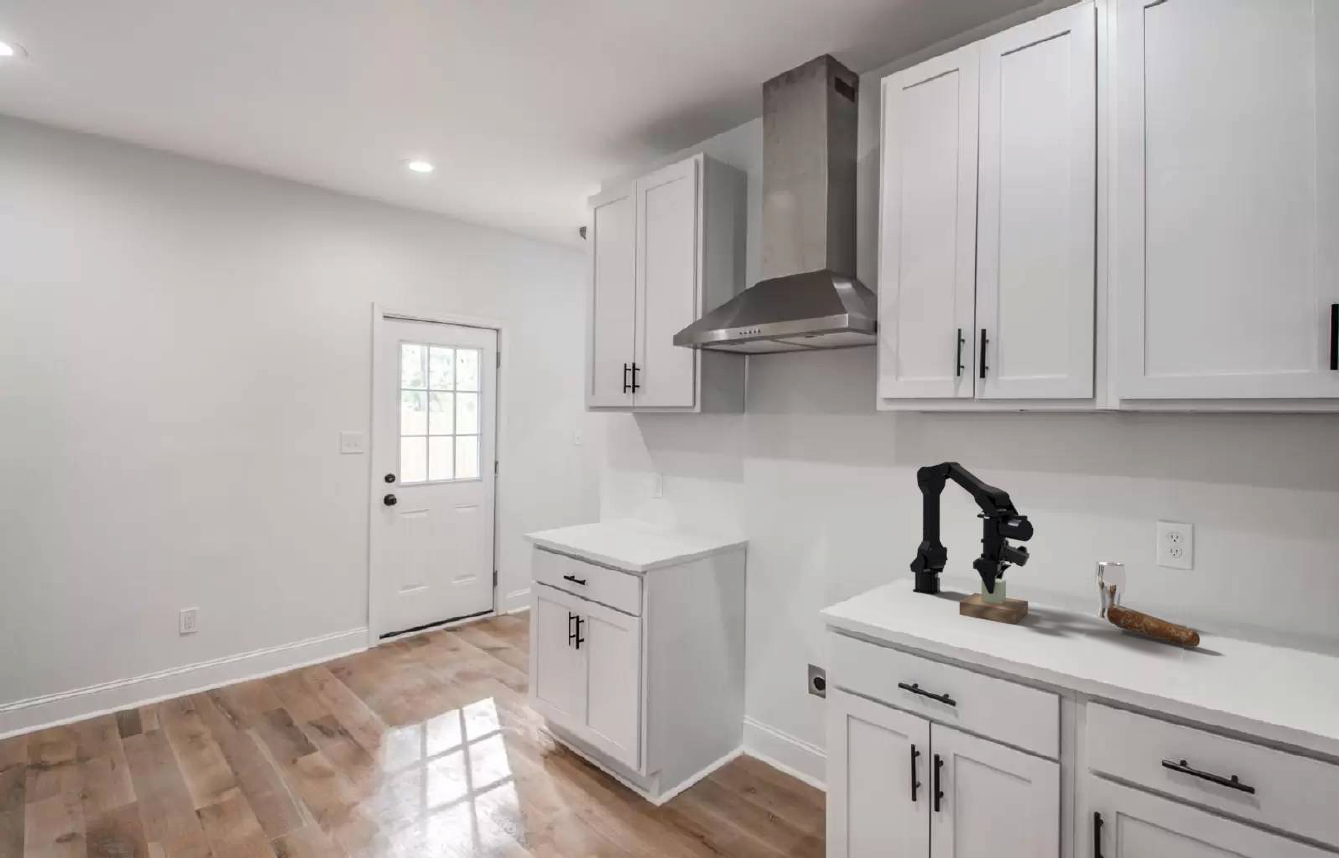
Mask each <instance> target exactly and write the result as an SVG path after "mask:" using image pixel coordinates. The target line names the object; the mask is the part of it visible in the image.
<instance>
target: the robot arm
mask: <svg viewBox="0 0 1339 858" xmlns="http://www.w3.org/2000/svg"><path fill="white" fill-rule="evenodd" d="M950 479H951V480H952V481H954V483H956V484H958V486H960V487H961V488H963V489H964V490H965V491H967V492H968V493H969V494H970V495H972V497H973V499H974V502H975V503H976V504H977V505H978V506H979V508H980V509H981V510H982V511H980V513H977V515H976V517H977V518H979V519H982V538H981V539H980V543H982V553H980V557H978V558H976V559H974V560H973V561H972V569H973V570H976V571H977V572H978V574H979V576H980V577H981V581H982V580H983V582H984V584H985V586H986V589H987V591H988V593H989V594H993V592H994V587H995V582H996V579H1003V577H1004V573H1005V571H1006V570H1008V569H1009V568H1010V567H1011V566H1012V565H1011V564H1015V565H1016V566H1019V567H1022V568H1023V567H1024V566H1026V564H1027V562H1028V560H1029V559H1030V553H1029V552H1028V548H1027V547H1026V546H1024V545H1019V546H1018V547H1016V546H1012V545H1010V541H1009V539H1010V540H1016V541H1020V542H1028V541H1029V540H1031V539H1032V538H1033V535H1034V531H1035V530H1034V527H1033V525H1032V523H1031V521H1029V520H1028V515H1022V514H1020V515H1019V513H1018V511H1017V509H1016V507H1015V505H1014V504H1013V502H1012V500H1011V498H1010V496H1011V495H1010V494H1009V493H1008V492H1007V491H1006V490H1003V489H1001V488H998V487H996V486H993V485H989V484H987V483H985V482H983V481H982V480H981V479H979V478H978V477H977V476H976V475H974V474H973V473H972V472H970V471H968V469H966V468H965V467H963V466H962V465H961V464H960V463H959V462H957V461H944V462H941V463H938V464H935V465H931V466H928V465H927V466H921V467H920V468H919V469H918V470H917V472H916V480H917V486H918V487H917V488H919V490H920V493H922V540H921V543H920V544H919V546H918V548H917V551H916V557H915V558H914V559H913V560H912V561H911V562H910V564H909V568H910V571H911V573H914V575H915V576H914V588H913V589H912V592H915V593H921V594H927V595H928V594H929V595H936V594H937V593H939V592H941V578H940V577H939V573H940V574H942V573H943V571H944V569H945V566H946V565H947V561H948V560H949V559H948V548H947V547H946V546H944V545H943V544H942V542H941V494H943V493H942V492H943V490H944V489H945V487H946V483H947V480H950ZM1007 562H1008V563H1009V564H1006V563H1007Z"/></svg>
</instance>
